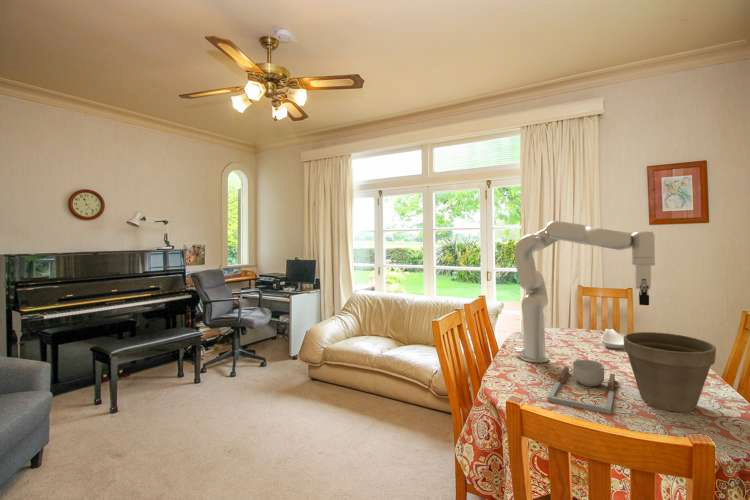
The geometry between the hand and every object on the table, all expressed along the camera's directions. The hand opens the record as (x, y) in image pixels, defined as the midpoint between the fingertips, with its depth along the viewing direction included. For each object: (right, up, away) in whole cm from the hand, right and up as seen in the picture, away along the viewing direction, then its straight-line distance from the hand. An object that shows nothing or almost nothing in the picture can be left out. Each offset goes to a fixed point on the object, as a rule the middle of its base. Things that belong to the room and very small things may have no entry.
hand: (644, 303), depth 152 cm
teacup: (-26, -31, -4) cm, 41 cm away
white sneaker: (+17, -29, +47) cm, 58 cm away
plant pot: (-10, -31, -25) cm, 41 cm away
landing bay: (-36, -31, -19) cm, 52 cm away
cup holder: (-26, -31, -4) cm, 40 cm away
